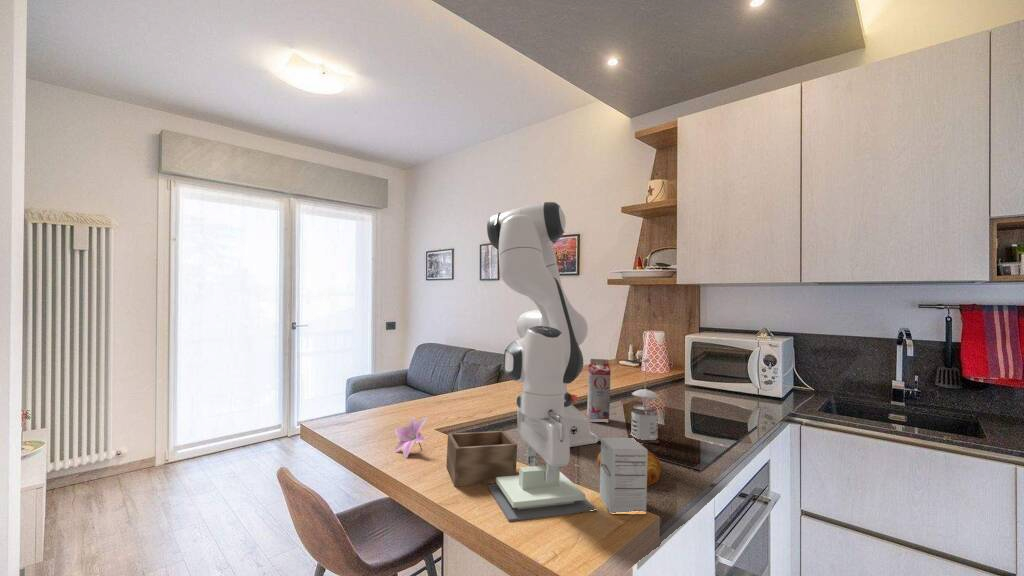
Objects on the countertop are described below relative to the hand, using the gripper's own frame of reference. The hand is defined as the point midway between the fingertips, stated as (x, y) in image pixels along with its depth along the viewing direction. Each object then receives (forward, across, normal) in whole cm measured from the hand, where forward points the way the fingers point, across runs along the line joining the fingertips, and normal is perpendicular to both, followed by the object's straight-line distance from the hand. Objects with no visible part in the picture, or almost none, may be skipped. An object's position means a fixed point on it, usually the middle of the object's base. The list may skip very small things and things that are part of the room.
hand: (540, 473), depth 86 cm
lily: (+5, +34, +24) cm, 41 cm away
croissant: (+6, +8, -27) cm, 28 cm away
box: (+5, +15, +9) cm, 18 cm away
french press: (+5, +32, -48) cm, 58 cm away
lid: (+5, 0, 0) cm, 5 cm away
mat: (+5, 0, 0) cm, 5 cm away
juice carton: (+5, +54, -44) cm, 70 cm away
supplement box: (+5, -7, -15) cm, 17 cm away
